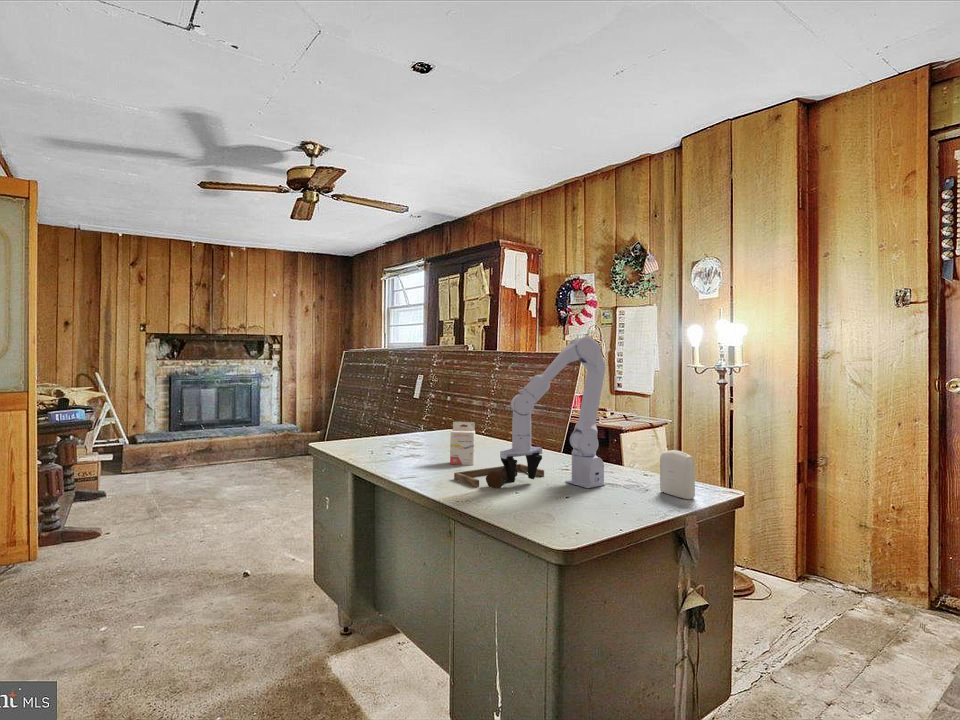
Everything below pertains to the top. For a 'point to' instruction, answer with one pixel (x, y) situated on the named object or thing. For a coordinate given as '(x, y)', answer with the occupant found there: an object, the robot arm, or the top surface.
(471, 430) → the ink cartridge box
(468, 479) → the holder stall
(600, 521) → the top surface
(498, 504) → the top surface
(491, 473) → the bolt
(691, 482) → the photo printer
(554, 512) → the top surface
